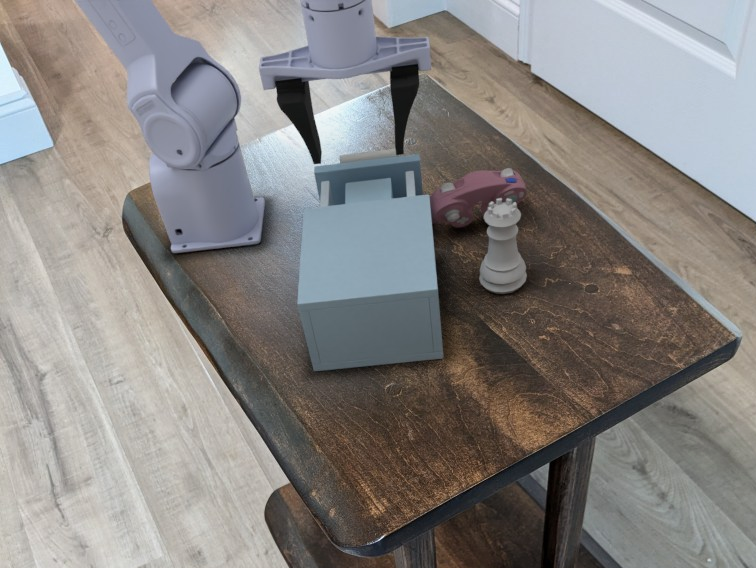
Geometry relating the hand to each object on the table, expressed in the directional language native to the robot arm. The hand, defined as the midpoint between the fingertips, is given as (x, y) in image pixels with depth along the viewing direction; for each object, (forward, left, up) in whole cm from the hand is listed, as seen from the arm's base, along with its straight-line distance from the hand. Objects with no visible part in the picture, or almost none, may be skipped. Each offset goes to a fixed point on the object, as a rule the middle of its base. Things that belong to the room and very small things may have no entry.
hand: (358, 153), depth 80 cm
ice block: (+1, -2, -8) cm, 8 cm away
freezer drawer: (0, 0, -9) cm, 9 cm away
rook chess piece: (+12, -9, -10) cm, 18 cm away
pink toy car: (+11, +2, -10) cm, 15 cm away
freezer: (0, -12, -10) cm, 15 cm away
